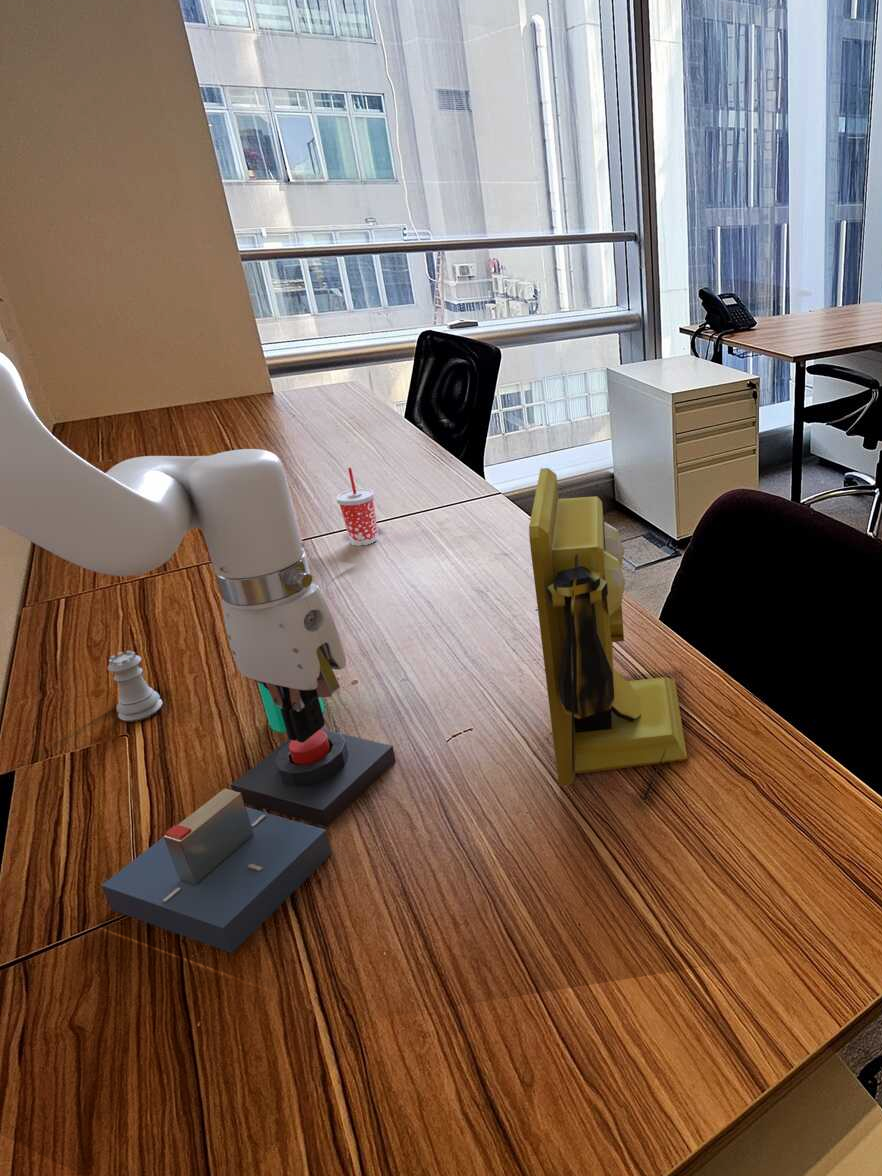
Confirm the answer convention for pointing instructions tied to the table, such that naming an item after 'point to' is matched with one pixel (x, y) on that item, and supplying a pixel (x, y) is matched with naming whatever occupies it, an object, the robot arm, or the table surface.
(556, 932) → the table surface
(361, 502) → the beverage cup
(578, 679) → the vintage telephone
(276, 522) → the robot arm
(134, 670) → the rook chess piece
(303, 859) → the control panel
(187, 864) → the handle
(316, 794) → the button block
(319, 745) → the button
